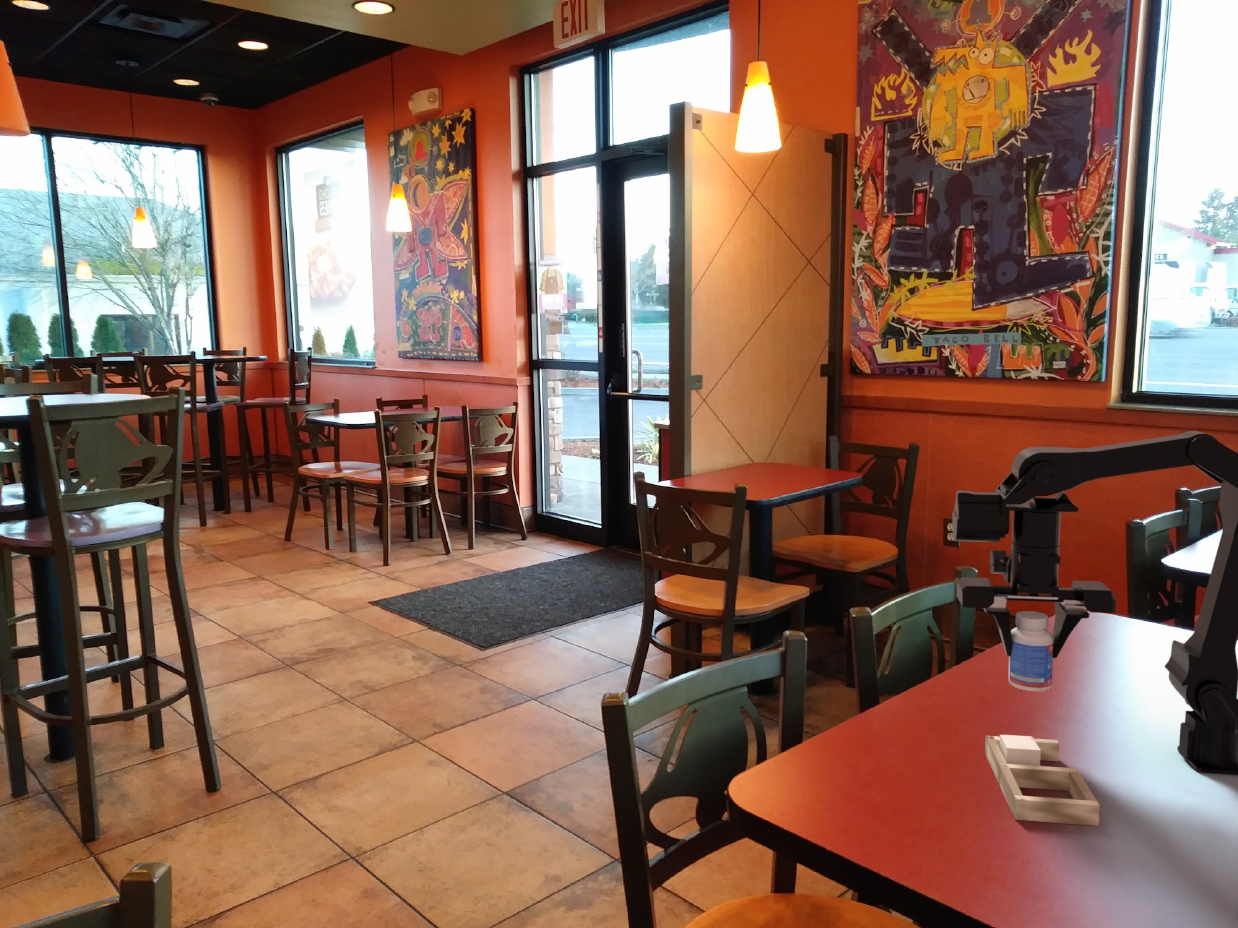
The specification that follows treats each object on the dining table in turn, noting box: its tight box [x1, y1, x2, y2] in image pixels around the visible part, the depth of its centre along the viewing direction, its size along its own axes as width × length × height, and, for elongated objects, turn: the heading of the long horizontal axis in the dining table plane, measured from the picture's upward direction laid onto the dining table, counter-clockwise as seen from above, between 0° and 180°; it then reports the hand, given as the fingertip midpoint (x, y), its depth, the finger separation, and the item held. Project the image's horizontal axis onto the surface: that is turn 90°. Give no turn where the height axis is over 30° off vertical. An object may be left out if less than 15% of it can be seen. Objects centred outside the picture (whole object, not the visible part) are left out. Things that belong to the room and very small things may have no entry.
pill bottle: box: [1008, 610, 1054, 692], centre depth 121 cm, size 6×5×10 cm
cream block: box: [999, 734, 1041, 766], centre depth 116 cm, size 4×4×4 cm
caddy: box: [984, 735, 1101, 827], centre depth 111 cm, size 9×17×2 cm, turn 169°
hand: (1030, 656), depth 121 cm, fingers closed on pill bottle, 5 cm apart
